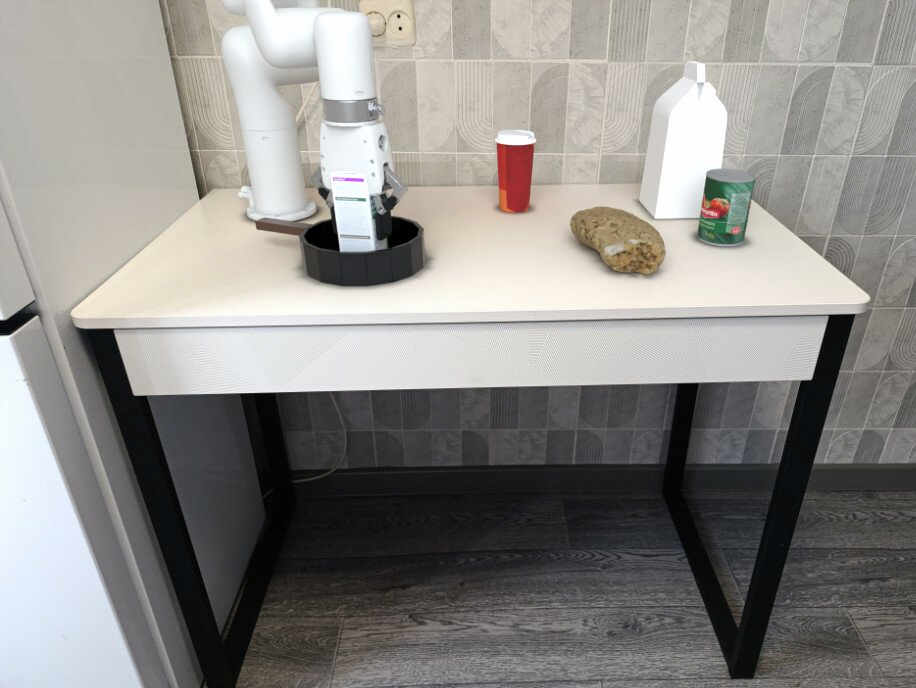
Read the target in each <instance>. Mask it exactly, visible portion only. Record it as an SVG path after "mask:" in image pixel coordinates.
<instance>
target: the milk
mask: <svg viewBox="0 0 916 688" xmlns="http://www.w3.org/2000/svg"><path fill="white" fill-rule="evenodd" d="M717 95H718V92H717V90H716V89H715V87H714V86H713V85H712V83H710V82H709V81H706V64H705V63H703V62H699V61H697V60H686V63H685V67H684V71H683V75H682V77H681V78H680V79H678V80H677V81H676V82H675V83H674V84H672V86H670V87H669V88H668V89H667V90H666V91H665V92H664V93H662V94H661V96H659V97H658V99H657V100H656V102H655V104H654V105H653V108H652V115H651V122H650V128H649V134H648V140H647V146H646V147H647V148H646V154H645V160H644V167H643V171H642V177H641V185H640V191H639V198H638V202H640V204H641V205H642V206H643V207H644V208H645V209H646V210H647V212H648V213H649V214H650V215H651V216H652V217H653V218H654V219H655V220H656V219H657V220H658V219H659V220H660V219H663V220H664V219H665V220H666V219H700V213H701V206H702V200H703V193H704V187H705V180H706V172H707V171H709V170H713V169H722V168H723V167H722V166H723V157H724V149H725V141H726V132H727V125H728V112H727V109H726V107H725V105H724V104H723V102H722V101H721V100H720V99H719V98H718V96H717Z"/></svg>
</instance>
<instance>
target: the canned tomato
mask: <svg viewBox="0 0 916 688" xmlns="http://www.w3.org/2000/svg"><path fill="white" fill-rule="evenodd" d="M756 179H757V175H755V174H754V173H753V172H750V171H747V170H741V169H736V168H735V169H734V168H721V169H713V170H709V171H707V172H706V180H705V187H704V193H703V200H702V206H701V213H700V218H699V220H698V227H697V233H696V238H697V240H698V241H700V242H701V243H704V244H706V245H710V246H714V247H724V248H725V247H727V248H728V247H729V248H730V247H738V246H740V245H743V244H744V243H745V236H746V232H747V227H748V222H749V220H748V219H749V215H750V209H751V205H752V199H753V195H754V188H755V184H756Z"/></svg>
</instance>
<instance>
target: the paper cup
mask: <svg viewBox="0 0 916 688" xmlns="http://www.w3.org/2000/svg"><path fill="white" fill-rule="evenodd" d="M535 137H536V136H535V132H534V131H531V130H525V129H504V130H500V131H498V132H497V134H496V137H495V138H494V142H495V143H496V159H497V161H496V162H497V182H498V198H499V199H498V201H499V208H500V210H501V211H503V212H506V213H517V214H518V213H524V212H527V211H528V210H529V209H530V200H531V191H532V190H531V189H532V180H533V179H532V178H533V168H534V167H533V166H534V165H533V164H534V155H535V144H536V142H537V138H535Z"/></svg>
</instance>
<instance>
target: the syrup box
mask: <svg viewBox="0 0 916 688" xmlns="http://www.w3.org/2000/svg"><path fill="white" fill-rule="evenodd" d="M330 178H331V186H332V193H333V201H334V209H335V217H336V224H337V232H338V239H339V247H340V252H366V251H374V250H381V249H388V242H387V238H385V239H384V240H382V241H380V240H378V239H377V236H376V224H375V215H376V214H377V213H378V211H377V209H376V207H375V205H374V203H373V201H372V198H371V196H370V195H369V191H368V185H367V179H366V176H365V175H360V173H356V172H345V171H338V172H332V173H331V174H330Z"/></svg>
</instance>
